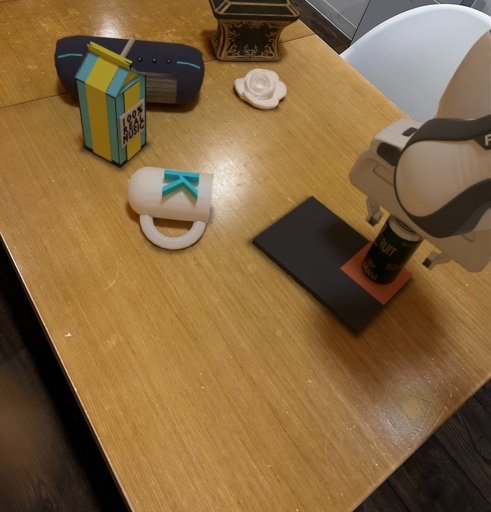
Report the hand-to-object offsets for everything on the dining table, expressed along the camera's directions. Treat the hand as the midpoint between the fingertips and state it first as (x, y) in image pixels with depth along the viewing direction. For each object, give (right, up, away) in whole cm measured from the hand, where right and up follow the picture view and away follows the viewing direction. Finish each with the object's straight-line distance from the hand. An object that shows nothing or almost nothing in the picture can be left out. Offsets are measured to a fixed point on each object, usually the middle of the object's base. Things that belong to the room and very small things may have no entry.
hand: (399, 243), depth 67 cm
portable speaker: (-41, +27, +23) cm, 54 cm away
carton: (-42, +16, +15) cm, 47 cm away
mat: (-8, -2, +7) cm, 11 cm away
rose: (-18, +29, +29) cm, 45 cm away
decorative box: (-22, +41, +36) cm, 59 cm away
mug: (-32, +4, +7) cm, 33 cm away
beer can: (-1, -4, +6) cm, 7 cm away
